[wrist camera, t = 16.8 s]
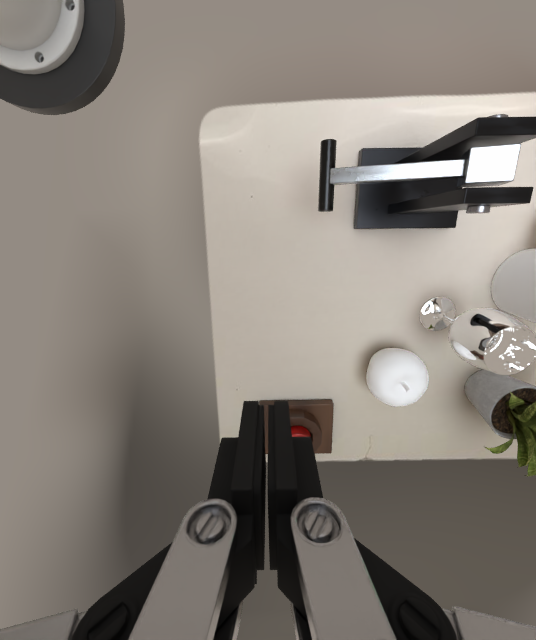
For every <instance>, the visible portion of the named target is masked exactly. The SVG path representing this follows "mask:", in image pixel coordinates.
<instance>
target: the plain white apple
mask: <svg viewBox="0 0 536 640" xmlns="http://www.w3.org/2000/svg"><path fill="white" fill-rule="evenodd" d="M366 381H367V385H368V387H369V389H370V391H371V393H372V394H373V395H374V396H375V397H376V398H377V399H378V400H380V401H382V402H383V403H385V404H387V405H390V406H393V407H401V406H406V405H410V404H412V403H415V402H416V401H417V400H418V399H419V398H420V397H421V396H422V395H423V394H424V393H425V391H426V389H427V388H428V383H429V376H428V370H427V368H426V365H425V364H424V362H423V361H422V360H421V359H420V358H419V357H418V356H417V355H416V354H414V353H413V352H410V351H408V350H405V349H400V348H386V349H382V350H380V351H378V352H377V353H375V354H374V355H373V356H372V358H371V360H370V363H369V366H368V369H367V374H366Z"/></svg>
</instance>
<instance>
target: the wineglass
mask: <svg viewBox="0 0 536 640" xmlns="http://www.w3.org/2000/svg"><path fill="white" fill-rule="evenodd" d="M455 315H456V308H455V305H454V303H453V302H452V301H451V300H450V299H449V298H446V297H440V296H439V297H434V298H432V299H430V300H428V301H427V302H426V303H425V304H424V305H423V306H422V308H421V310H420V314H419V318H420V322H421V324H422V325H423V326H424V327H425V328H426V329H428V330H432V331H438V330H442V329H444V328H446V327H448V326H449V325H450V324H451V326H450V329H449V334H448V339H449V343H450V346H451V348H452V349H453V351H454V352H455V353H456V354H457V355H458V356H459V357H460V358H461V359H462V360H464V361H466V362H467V363H469V364H471V365H473V366H475V367H477V368H480V369H482V370H486V371H489V372H492V373H496V374H499V375H511V374H515V373H518V372H520V371H522V370H524V369H525V368H526V367H528V366H529V365H530V364H531V363H532V361H533V360H534V359H535V357H536V334H535V333H534V332H533V331H532V330H531V329H530V328H528V327H527V326H526V325H525V324H523V323H522V322H521V321H519V320H518V319H516V318H514V317H513V316H511V315H509V314H507V313H505V312H502V311H500V310H497V309H492V308H474V309H470V310H467V311H465V312H463V313H462V314H460V315H459V316H458V317H457V318H456V319H455V320H454V318H455Z"/></svg>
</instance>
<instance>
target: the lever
mask: <svg viewBox="0 0 536 640" xmlns="http://www.w3.org/2000/svg"><path fill="white" fill-rule="evenodd" d="M520 147H521V144H507V145H495V146H483V147H471V148H470V149H469V150H468V151H466V152H465V153H464V154H463V155H462V156H461V159H458V160H444V161H430V162H416V163H402V164H388V165H374V166H360V167H345V168H335V160H336V140H334V139H326V140H323V141H321V153H320V180H319V206H318V211H319V212H330V211H333V199H334V185H343V184H362V183H380V182H399V181H417V180H436V179H454V178H458V179H457V185H456V187H479V186H499V185H502V184H505V183H508V182H511V181H513V180H514V176H515V171H516V166H517V161H518V157H519V152H520Z"/></svg>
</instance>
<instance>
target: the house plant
mask: <svg viewBox="0 0 536 640" xmlns="http://www.w3.org/2000/svg"><path fill="white" fill-rule="evenodd" d="M464 389H465V393H466V396H467V397H468V399H469V400H470V402H471V403H472V404H473V405H474V407H475V408H476V409H477V410H478V412H479V413H480V414H481V416H482V417H483V418H484V419H485V421H486V422H487V423H488V425H489V426H490V427H491V429H492V430H493V431H494V432H495V433H496V434H497V435H499V436H501V437H504V438H507V439H510V440H509V441H508V442H506V443H504V444H502V445H500V446H498V447H495V448H487V447H485V448H487V449H488V450H490V451H491V452H492V453H496V454H498V453H502V452H504V451H505V450H506V449H508V448H509V446H510V445H511V444H512V442H513V439H517V442H518V453H517V459H518V463H519V467H521V466H524V465H527V464H528V476H533V475H536V386H533V385H531V384H528V383H526V382H523V381H521V380H518V379H516V378H513V377H510V376H508V375H499V374H496V373H492V372H489V371H486V370H480V371H478V372H476V373H474V374H473V375H471V376H470V377H469V379H468V380H467V382H466V384H465V387H464Z"/></svg>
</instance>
